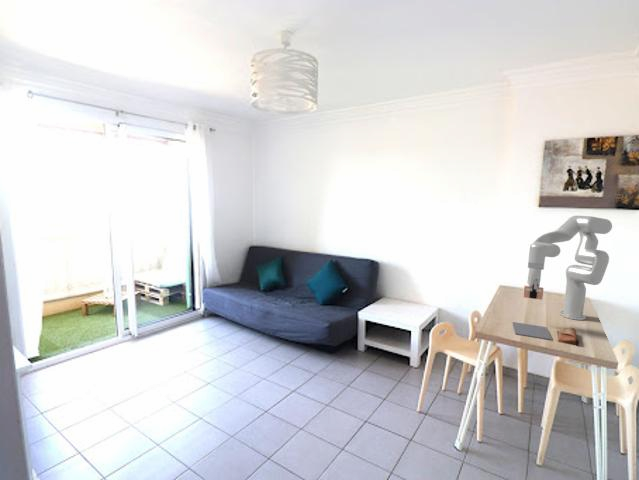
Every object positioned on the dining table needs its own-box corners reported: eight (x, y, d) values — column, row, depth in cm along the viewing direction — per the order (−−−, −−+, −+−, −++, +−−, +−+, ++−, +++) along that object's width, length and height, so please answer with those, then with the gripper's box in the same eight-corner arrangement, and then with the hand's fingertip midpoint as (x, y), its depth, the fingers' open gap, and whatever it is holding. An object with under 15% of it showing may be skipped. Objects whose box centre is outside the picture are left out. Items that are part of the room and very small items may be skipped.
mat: (512, 322, 190) (512, 321, 190) (545, 328, 183) (545, 327, 183) (515, 334, 174) (515, 333, 174) (552, 340, 167) (552, 339, 167)
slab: (523, 296, 191) (524, 285, 190) (541, 298, 187) (543, 287, 186) (523, 297, 190) (524, 286, 189) (542, 299, 186) (543, 288, 185)
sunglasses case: (555, 330, 181) (564, 321, 178) (568, 339, 178) (578, 330, 175) (557, 341, 166) (567, 332, 163) (571, 352, 163) (581, 342, 160)
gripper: (526, 262, 195) (523, 293, 197) (529, 267, 181) (526, 300, 183) (541, 264, 191) (538, 295, 194) (546, 269, 177) (542, 302, 180)
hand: (532, 297), depth 188 cm, fingers closed on slab, 1 cm apart
